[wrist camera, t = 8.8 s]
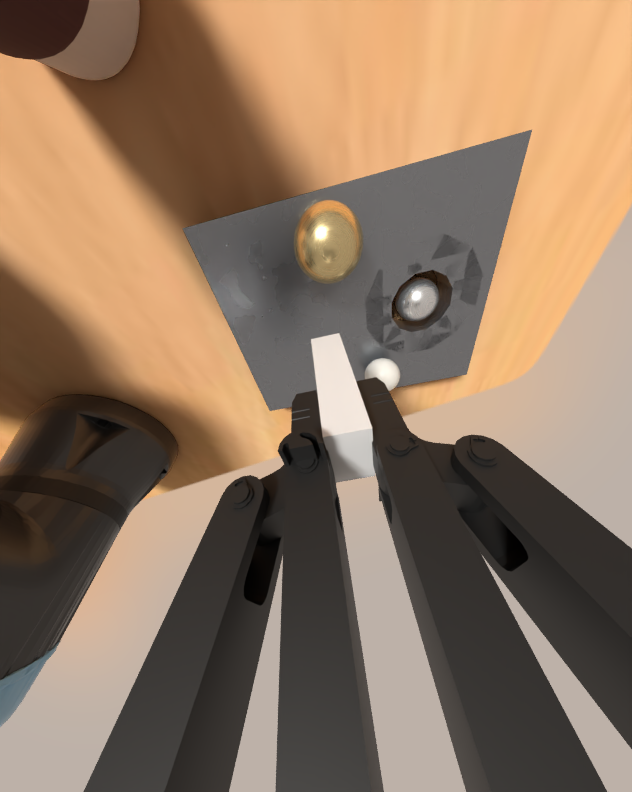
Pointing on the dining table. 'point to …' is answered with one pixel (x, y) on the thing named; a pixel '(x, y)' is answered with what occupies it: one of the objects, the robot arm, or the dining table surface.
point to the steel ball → (417, 299)
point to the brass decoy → (328, 242)
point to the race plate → (367, 270)
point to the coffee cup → (71, 34)
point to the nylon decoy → (384, 372)
